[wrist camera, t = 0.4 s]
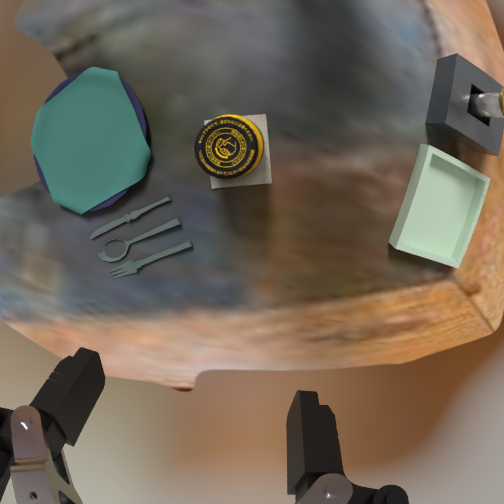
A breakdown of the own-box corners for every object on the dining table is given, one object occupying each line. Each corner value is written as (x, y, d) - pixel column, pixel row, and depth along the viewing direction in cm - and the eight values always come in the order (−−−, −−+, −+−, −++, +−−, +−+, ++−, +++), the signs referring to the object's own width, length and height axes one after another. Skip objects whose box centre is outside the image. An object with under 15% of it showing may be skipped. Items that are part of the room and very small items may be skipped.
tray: (420, 143, 32) (429, 145, 29) (480, 175, 32) (490, 179, 30) (388, 241, 37) (395, 248, 35) (450, 261, 38) (458, 268, 35)
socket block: (437, 59, 27) (456, 53, 22) (488, 92, 27) (508, 91, 23) (425, 123, 31) (445, 123, 26) (476, 151, 31) (497, 156, 26)
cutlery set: (122, 44, 29) (114, 41, 27) (209, 241, 39) (205, 248, 37) (27, 120, 33) (17, 122, 31) (101, 283, 43) (95, 290, 41)
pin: (450, 85, 28) (506, 78, 17) (472, 99, 28) (529, 98, 17) (445, 113, 30) (502, 113, 19) (468, 126, 30) (525, 132, 19)
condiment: (265, 114, 32) (264, 103, 21) (271, 183, 35) (273, 206, 24) (204, 120, 33) (174, 115, 22) (212, 188, 36) (187, 213, 25)
